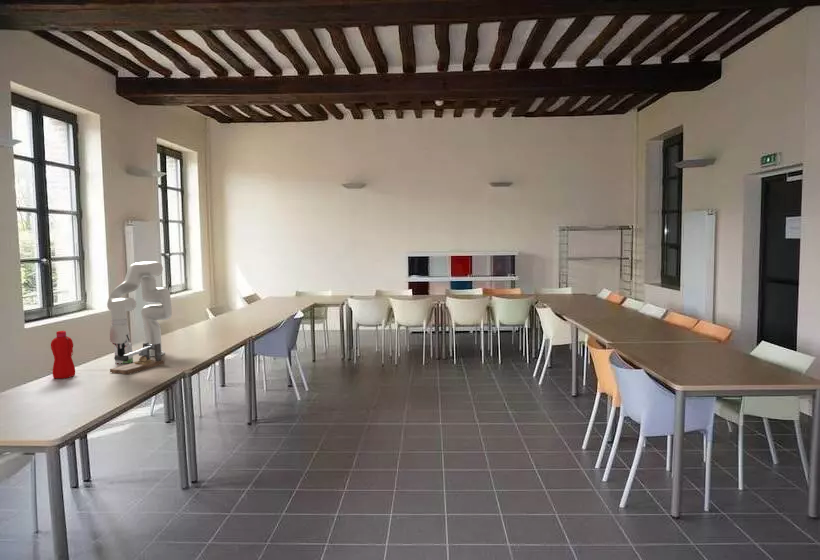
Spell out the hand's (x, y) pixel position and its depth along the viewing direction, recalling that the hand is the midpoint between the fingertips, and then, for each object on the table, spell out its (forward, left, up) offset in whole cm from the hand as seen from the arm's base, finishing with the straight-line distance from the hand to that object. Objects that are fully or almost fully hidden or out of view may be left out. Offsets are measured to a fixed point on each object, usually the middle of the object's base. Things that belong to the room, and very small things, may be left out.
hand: (121, 355), depth 309 cm
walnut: (0, +15, -6) cm, 16 cm away
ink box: (-18, +19, -10) cm, 28 cm away
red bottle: (-22, -16, -10) cm, 29 cm away
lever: (0, +11, -3) cm, 12 cm away
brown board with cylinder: (0, +11, -10) cm, 15 cm away
